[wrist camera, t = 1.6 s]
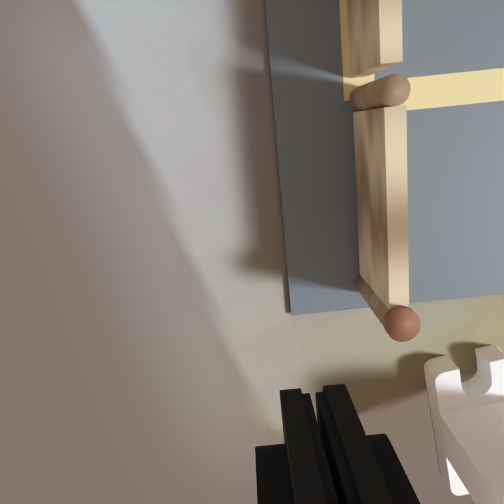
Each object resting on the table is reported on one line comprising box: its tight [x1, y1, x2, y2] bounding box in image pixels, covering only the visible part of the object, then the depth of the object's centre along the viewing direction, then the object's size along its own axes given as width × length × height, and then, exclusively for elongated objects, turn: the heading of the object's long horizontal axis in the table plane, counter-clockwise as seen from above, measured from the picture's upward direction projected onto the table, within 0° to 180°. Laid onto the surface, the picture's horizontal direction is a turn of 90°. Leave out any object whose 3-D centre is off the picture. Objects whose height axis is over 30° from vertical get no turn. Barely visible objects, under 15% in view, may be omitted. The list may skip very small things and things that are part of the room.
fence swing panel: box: [349, 73, 421, 342], centre depth 25 cm, size 13×2×7 cm, turn 6°
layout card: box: [264, 0, 504, 315], centre depth 27 cm, size 25×18×1 cm
